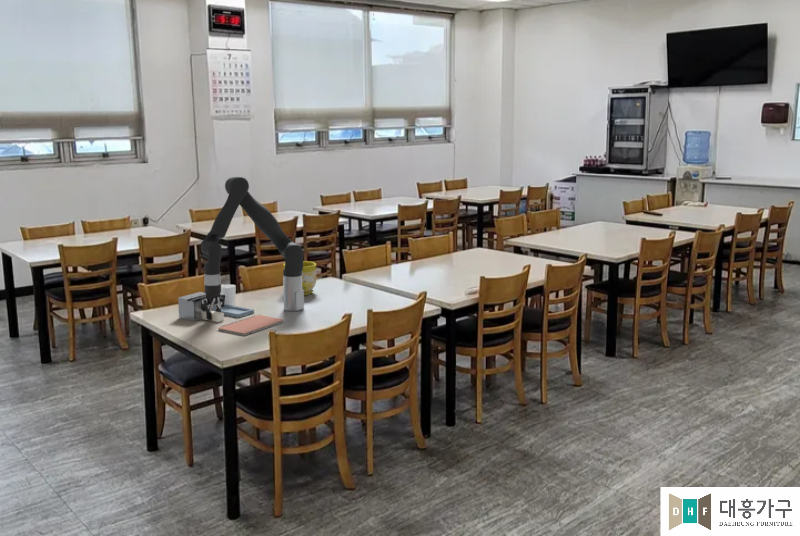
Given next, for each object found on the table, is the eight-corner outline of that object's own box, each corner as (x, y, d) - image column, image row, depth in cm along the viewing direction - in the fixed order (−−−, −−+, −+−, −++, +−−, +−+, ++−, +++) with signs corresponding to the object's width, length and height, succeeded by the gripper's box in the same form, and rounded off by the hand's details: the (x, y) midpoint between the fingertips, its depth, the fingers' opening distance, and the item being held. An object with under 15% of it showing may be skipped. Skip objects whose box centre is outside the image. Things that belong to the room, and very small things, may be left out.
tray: (254, 312, 356) (253, 309, 356) (238, 317, 347) (238, 314, 346) (223, 307, 366) (223, 303, 366) (207, 312, 357) (207, 308, 356)
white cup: (228, 308, 365) (227, 288, 363) (216, 305, 369) (216, 286, 367) (239, 304, 372) (238, 285, 370) (228, 302, 376) (227, 283, 374)
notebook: (257, 317, 349) (256, 313, 349) (284, 323, 341) (284, 319, 341) (216, 331, 326) (215, 326, 326) (244, 337, 318) (244, 332, 318)
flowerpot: (323, 294, 397) (322, 264, 394) (294, 298, 386) (294, 268, 383) (305, 288, 411) (304, 259, 408) (277, 292, 399) (276, 263, 396)
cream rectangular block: (224, 320, 343) (223, 312, 342) (218, 322, 339) (217, 314, 339) (202, 315, 350) (202, 308, 349) (196, 317, 346) (195, 310, 345)
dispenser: (215, 314, 352) (215, 294, 350) (194, 321, 340) (193, 299, 338) (200, 311, 357) (199, 291, 355) (179, 318, 345) (178, 297, 343)
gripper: (207, 287, 332) (208, 323, 335) (229, 281, 344) (230, 316, 347) (195, 285, 336) (196, 320, 339) (217, 279, 348) (218, 314, 351)
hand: (213, 318), depth 343 cm, fingers open, 5 cm apart
